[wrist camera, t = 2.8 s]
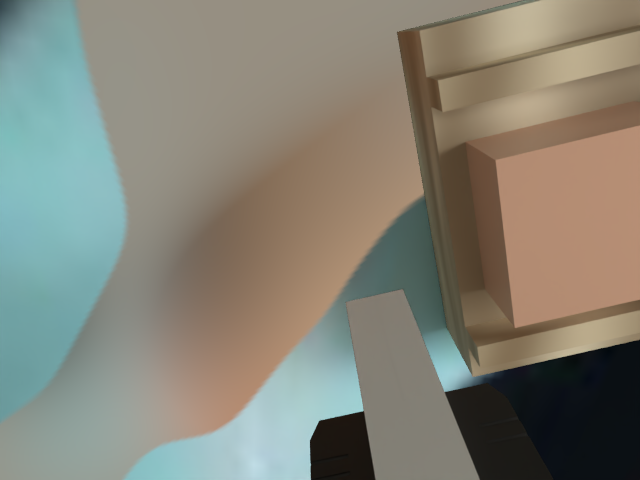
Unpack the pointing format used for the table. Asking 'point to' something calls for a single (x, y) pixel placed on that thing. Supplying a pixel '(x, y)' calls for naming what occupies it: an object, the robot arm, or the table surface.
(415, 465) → the robot arm
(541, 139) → the terracotta tile
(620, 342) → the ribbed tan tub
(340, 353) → the table surface
